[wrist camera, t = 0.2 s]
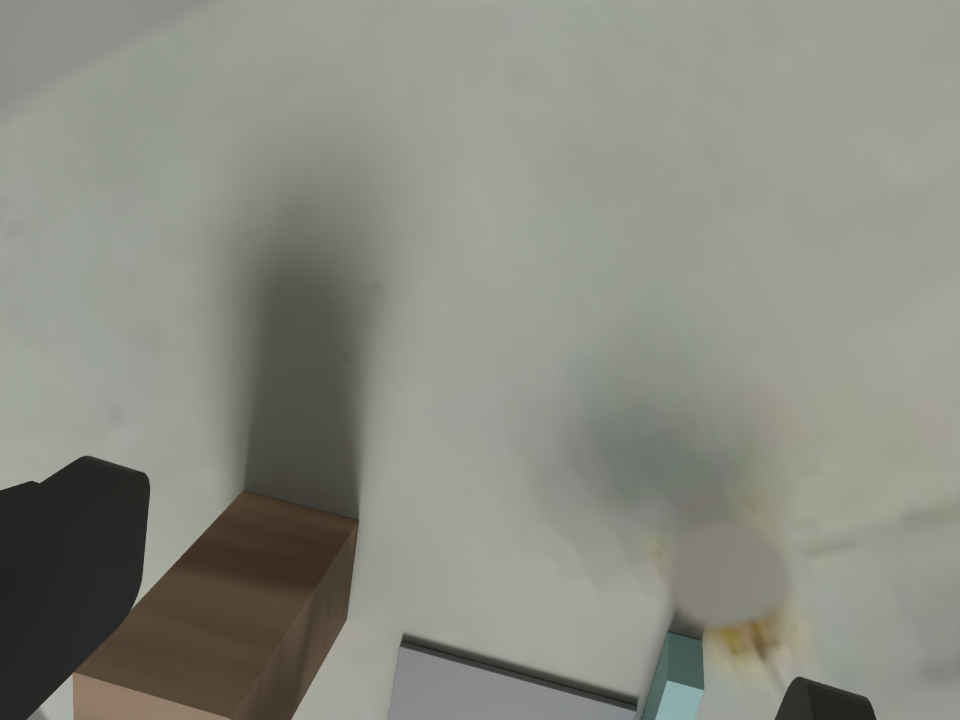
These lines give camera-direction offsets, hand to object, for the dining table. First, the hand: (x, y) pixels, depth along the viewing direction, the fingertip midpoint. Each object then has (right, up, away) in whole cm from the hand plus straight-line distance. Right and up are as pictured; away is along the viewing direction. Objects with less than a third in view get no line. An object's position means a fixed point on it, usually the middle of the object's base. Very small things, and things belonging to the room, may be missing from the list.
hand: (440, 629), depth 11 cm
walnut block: (-6, -4, +22) cm, 24 cm away
